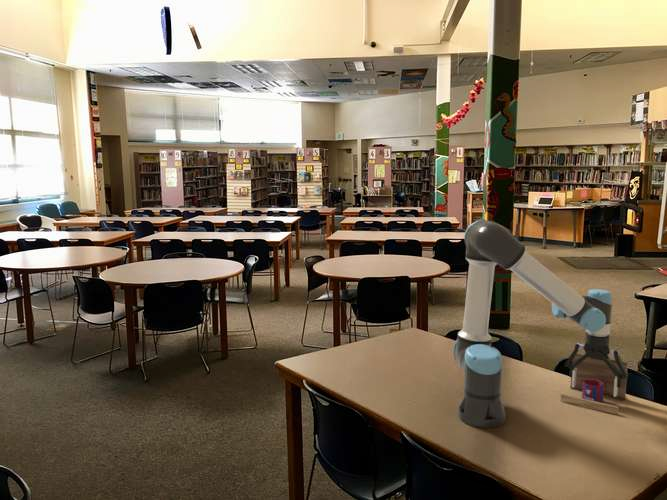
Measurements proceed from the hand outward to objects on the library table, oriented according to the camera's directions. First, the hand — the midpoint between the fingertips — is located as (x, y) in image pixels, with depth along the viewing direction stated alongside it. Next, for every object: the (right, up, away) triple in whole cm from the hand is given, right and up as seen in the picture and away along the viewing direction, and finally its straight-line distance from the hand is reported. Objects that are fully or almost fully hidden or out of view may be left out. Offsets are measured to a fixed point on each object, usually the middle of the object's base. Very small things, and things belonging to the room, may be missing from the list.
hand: (594, 390), depth 186 cm
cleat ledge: (-5, -4, -6) cm, 9 cm away
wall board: (+4, -2, +5) cm, 7 cm away
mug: (0, -3, 0) cm, 4 cm away
